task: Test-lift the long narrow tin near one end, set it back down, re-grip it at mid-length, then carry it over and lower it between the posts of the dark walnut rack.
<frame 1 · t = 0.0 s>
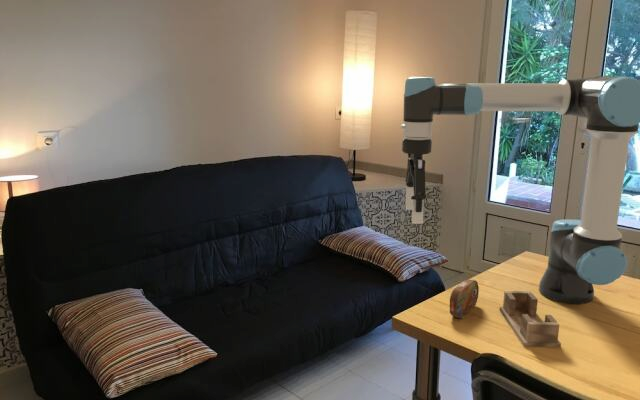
hand: (413, 216, 140), 28 cm above the table, fingers open, 13 cm apart
tin: (463, 312, 147), on the table
rack: (527, 327, 138), on the table
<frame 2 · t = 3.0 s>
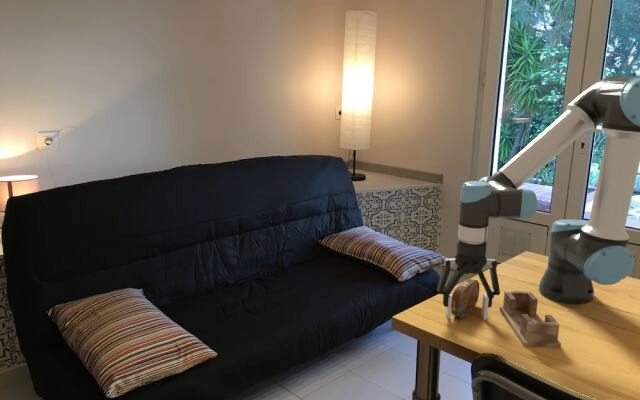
hand: (466, 317, 143), 0 cm above the table, fingers open, 9 cm apart
tin: (463, 311, 147), on the table, touching gripper
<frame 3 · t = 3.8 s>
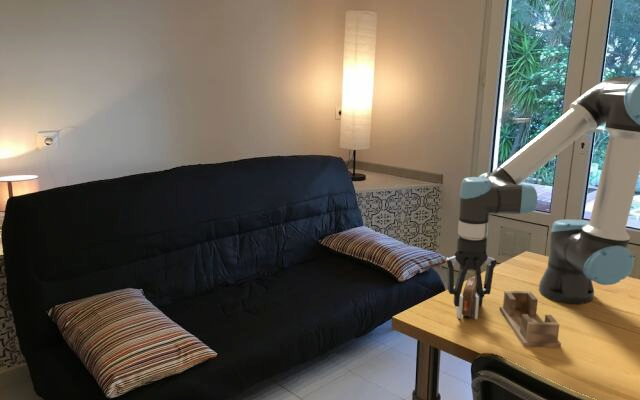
hand: (466, 316, 143), 0 cm above the table, fingers closed on tin, 4 cm apart
tin: (468, 310, 148), on the table, touching gripper
when the fingers open (3 cm above the table, at t = 4.7 s): tin stays where it is, on the table.
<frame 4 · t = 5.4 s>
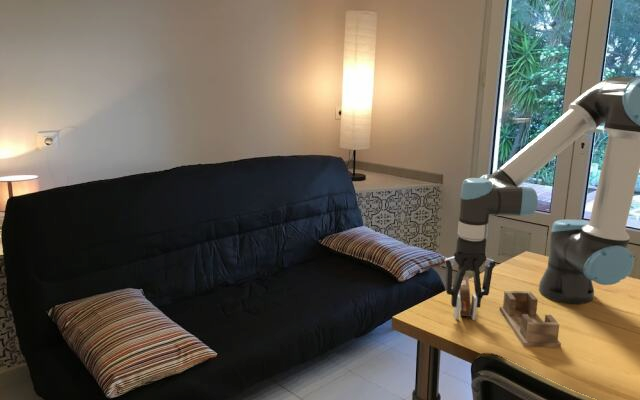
hand: (464, 317, 143), 0 cm above the table, fingers open, 4 cm apart
tin: (463, 309, 149), on the table
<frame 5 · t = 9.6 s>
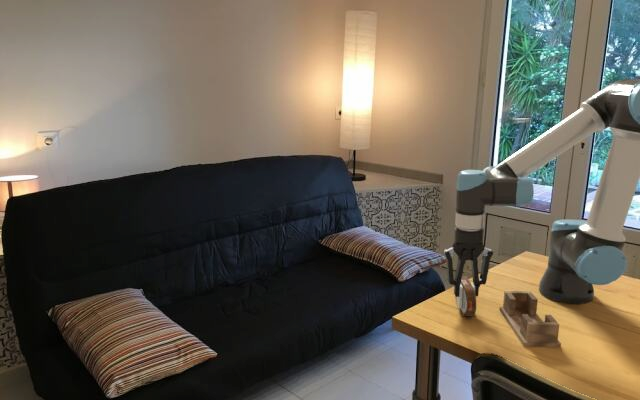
hand: (465, 306, 147), 1 cm above the table, fingers open, 3 cm apart
tin: (462, 309, 148), on the table, touching gripper
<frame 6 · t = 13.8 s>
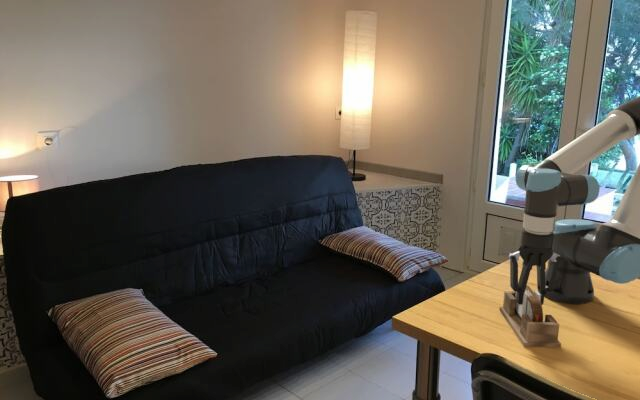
hand: (528, 315, 137), 4 cm above the table, fingers open, 3 cm apart
tin: (524, 321, 139), point 1 cm above the table, touching gripper, rack
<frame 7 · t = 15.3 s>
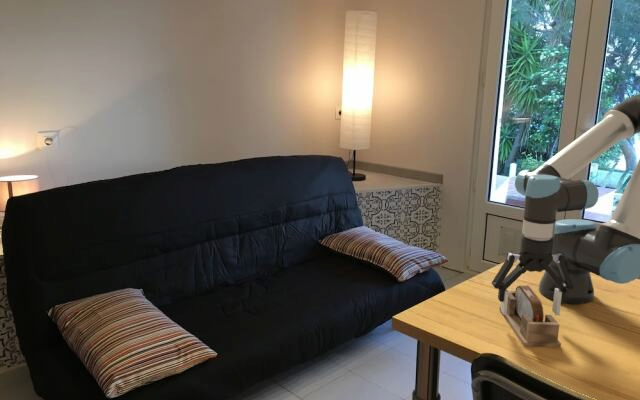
hand: (529, 312, 137), 4 cm above the table, fingers open, 13 cm apart
tin: (524, 321, 139), point 1 cm above the table, touching rack
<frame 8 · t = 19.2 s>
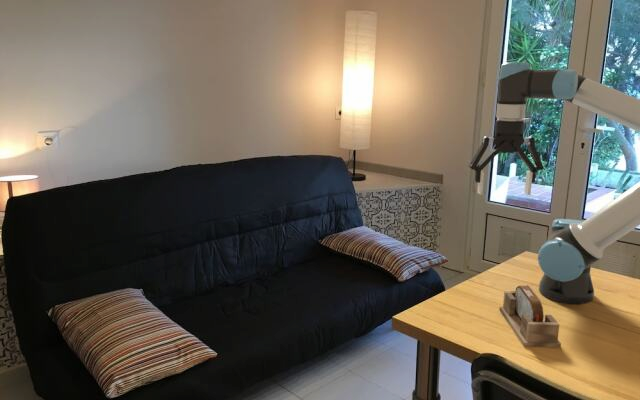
hand: (503, 193, 149), 32 cm above the table, fingers open, 13 cm apart
nothing on the table moved.
at the end: tin 1.3 cm off-centre on the rack, point 1.1 cm above the rack's base; tin tilted 5°; the gripper is holding nothing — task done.
